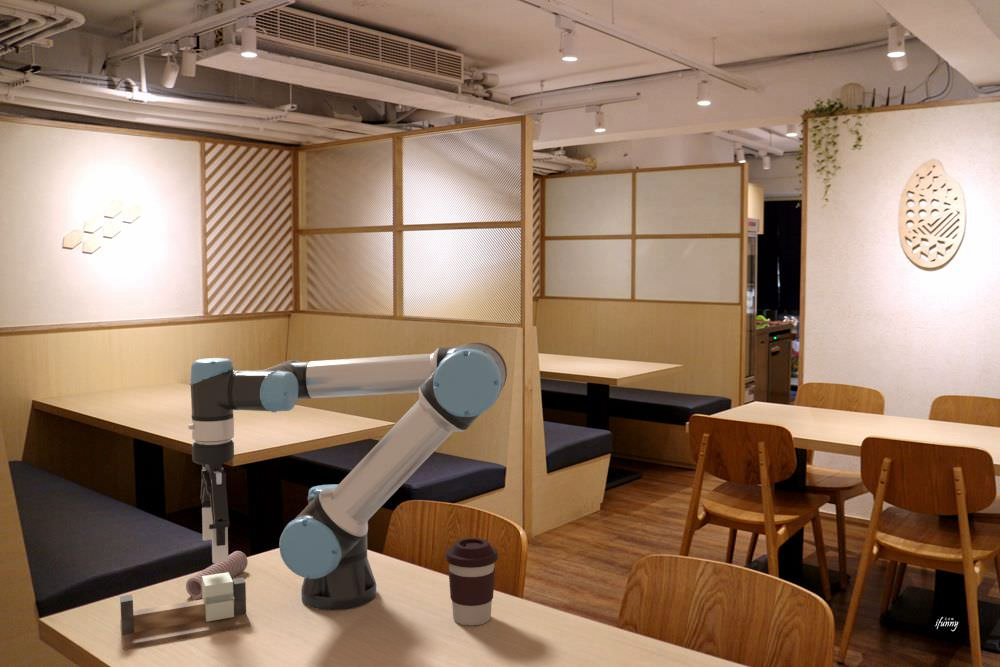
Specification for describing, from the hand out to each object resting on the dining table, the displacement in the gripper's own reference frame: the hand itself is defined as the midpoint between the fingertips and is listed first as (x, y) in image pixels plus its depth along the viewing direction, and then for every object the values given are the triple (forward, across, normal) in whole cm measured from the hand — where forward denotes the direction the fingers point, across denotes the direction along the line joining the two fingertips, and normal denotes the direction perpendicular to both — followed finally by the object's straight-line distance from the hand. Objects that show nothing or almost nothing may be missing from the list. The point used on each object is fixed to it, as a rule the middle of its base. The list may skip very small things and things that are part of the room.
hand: (215, 550), depth 165 cm
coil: (+14, -19, +3) cm, 24 cm away
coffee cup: (+13, +21, +44) cm, 51 cm away
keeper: (+13, 0, 0) cm, 13 cm away
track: (+14, 0, -6) cm, 15 cm away
